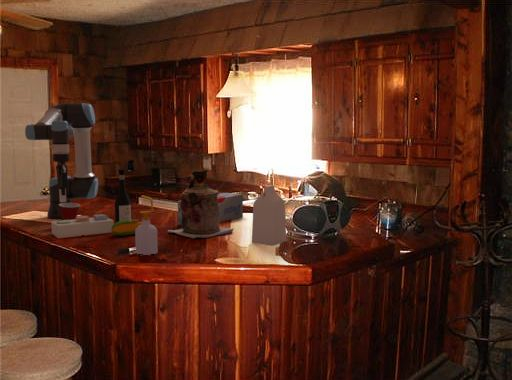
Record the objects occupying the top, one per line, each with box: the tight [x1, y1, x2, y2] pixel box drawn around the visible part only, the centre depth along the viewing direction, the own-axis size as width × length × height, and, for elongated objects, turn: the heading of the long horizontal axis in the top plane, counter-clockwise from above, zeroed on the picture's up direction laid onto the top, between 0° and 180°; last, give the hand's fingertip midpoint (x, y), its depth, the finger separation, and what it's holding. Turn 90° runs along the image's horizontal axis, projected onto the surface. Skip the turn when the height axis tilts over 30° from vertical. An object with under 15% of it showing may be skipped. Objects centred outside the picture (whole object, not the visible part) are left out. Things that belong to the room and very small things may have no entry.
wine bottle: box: [114, 168, 132, 224], centre depth 297 cm, size 8×8×30 cm
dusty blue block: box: [93, 213, 108, 221], centre depth 285 cm, size 5×5×5 cm
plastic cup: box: [59, 202, 81, 220], centre depth 296 cm, size 11×11×12 cm
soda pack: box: [177, 192, 244, 227], centre depth 313 cm, size 41×13×14 cm, turn 142°
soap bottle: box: [134, 194, 159, 256], centre depth 237 cm, size 9×9×25 cm
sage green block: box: [56, 219, 71, 224], centre depth 275 cm, size 5×5×5 cm
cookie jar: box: [167, 168, 234, 239], centre depth 279 cm, size 25×25×32 cm
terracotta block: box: [76, 215, 90, 222], centre depth 280 cm, size 5×5×5 cm
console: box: [50, 217, 115, 239], centre depth 280 cm, size 13×27×6 cm, turn 122°
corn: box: [111, 219, 142, 237], centre depth 277 cm, size 7×8×20 cm
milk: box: [251, 184, 287, 247], centre depth 259 cm, size 12×12×26 cm
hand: (63, 201), depth 274 cm, fingers closed
